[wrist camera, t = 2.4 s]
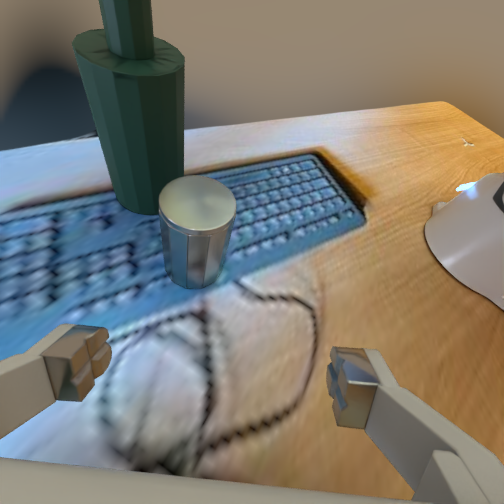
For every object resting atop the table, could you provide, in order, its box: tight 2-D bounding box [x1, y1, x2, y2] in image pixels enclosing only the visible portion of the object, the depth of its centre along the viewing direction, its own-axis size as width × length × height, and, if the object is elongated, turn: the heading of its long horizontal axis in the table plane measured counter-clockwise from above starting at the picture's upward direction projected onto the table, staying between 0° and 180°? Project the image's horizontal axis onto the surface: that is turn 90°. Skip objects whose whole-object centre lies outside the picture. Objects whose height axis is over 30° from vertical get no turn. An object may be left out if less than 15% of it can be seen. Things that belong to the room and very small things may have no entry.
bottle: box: [72, 0, 185, 215], centre depth 23 cm, size 8×8×18 cm
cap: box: [159, 175, 236, 289], centre depth 22 cm, size 6×6×9 cm
